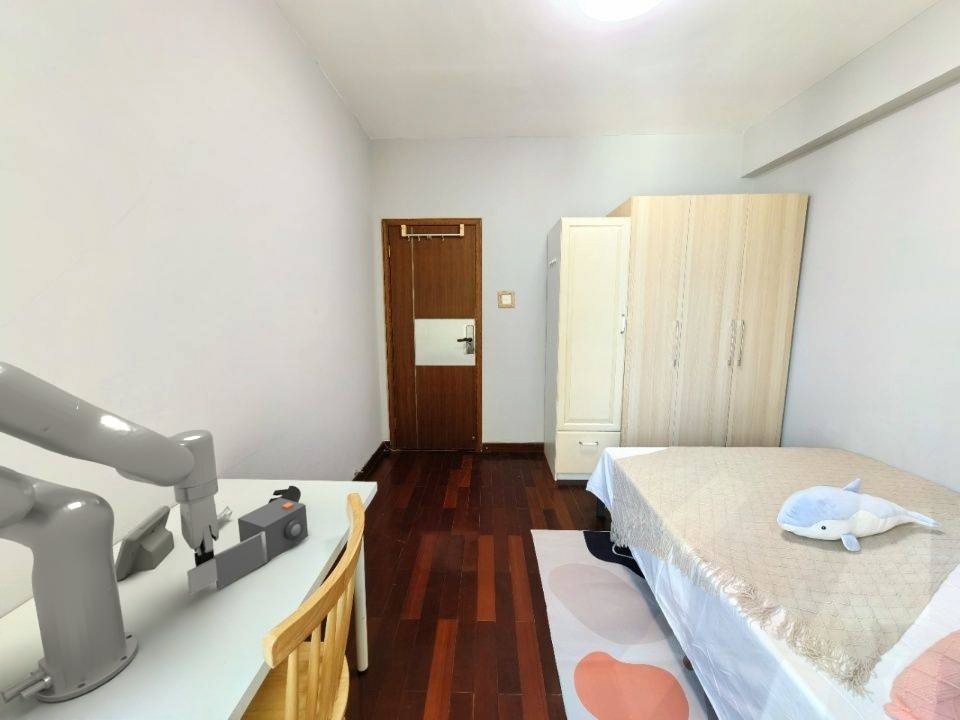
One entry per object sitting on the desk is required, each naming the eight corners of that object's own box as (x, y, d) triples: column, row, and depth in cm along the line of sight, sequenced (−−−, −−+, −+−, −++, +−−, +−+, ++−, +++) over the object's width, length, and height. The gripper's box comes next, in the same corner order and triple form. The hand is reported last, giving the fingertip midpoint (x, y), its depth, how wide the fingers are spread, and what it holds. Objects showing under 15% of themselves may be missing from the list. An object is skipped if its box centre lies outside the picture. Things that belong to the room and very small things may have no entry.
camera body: (271, 563, 95) (268, 525, 94) (241, 551, 100) (237, 515, 98) (311, 537, 106) (309, 502, 104) (282, 527, 110) (279, 494, 109)
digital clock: (155, 541, 105) (150, 504, 103) (189, 541, 105) (185, 503, 104) (97, 583, 89) (90, 540, 87) (137, 582, 89) (131, 539, 87)
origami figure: (198, 522, 114) (196, 506, 114) (232, 513, 119) (230, 498, 118) (199, 541, 105) (197, 524, 104) (235, 531, 109) (234, 514, 109)
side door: (268, 561, 95) (266, 532, 94) (193, 604, 81) (189, 570, 80) (265, 559, 96) (263, 530, 95) (190, 601, 82) (186, 568, 81)
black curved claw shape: (296, 520, 114) (294, 498, 114) (269, 524, 113) (267, 502, 112) (301, 504, 124) (300, 484, 123) (277, 507, 122) (275, 487, 121)
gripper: (167, 484, 86) (176, 562, 88) (183, 506, 76) (194, 593, 78) (207, 473, 91) (215, 547, 94) (227, 492, 81) (236, 574, 84)
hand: (205, 567), depth 86 cm, fingers closed
